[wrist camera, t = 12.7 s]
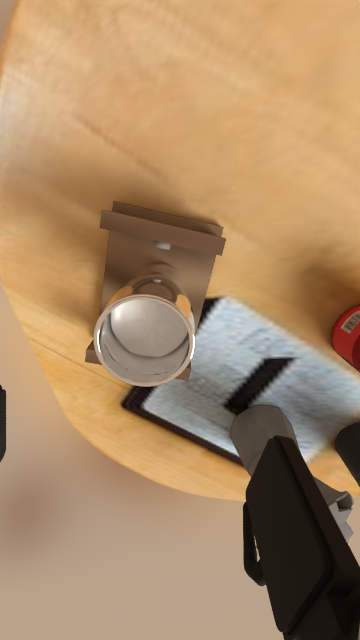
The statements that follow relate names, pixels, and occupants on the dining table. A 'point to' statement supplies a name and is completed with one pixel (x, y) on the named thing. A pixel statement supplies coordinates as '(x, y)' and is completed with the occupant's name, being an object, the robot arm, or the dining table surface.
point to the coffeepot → (250, 443)
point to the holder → (158, 254)
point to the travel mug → (350, 449)
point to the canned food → (348, 337)
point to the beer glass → (147, 328)
